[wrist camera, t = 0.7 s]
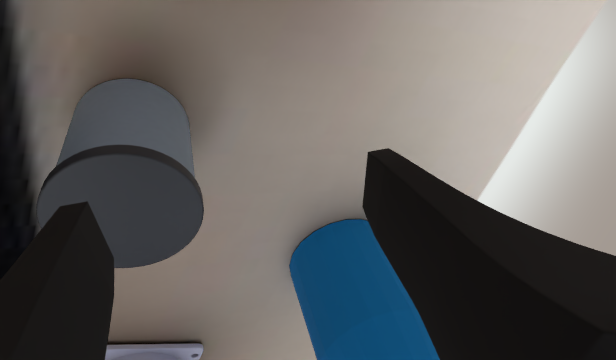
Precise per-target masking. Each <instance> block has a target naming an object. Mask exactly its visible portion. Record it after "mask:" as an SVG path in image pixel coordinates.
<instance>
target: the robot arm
mask: <svg viewBox="0 0 616 360" xmlns="http://www.w3.org/2000/svg"><path fill="white" fill-rule="evenodd" d="M363 209H364V212H365V214H366V217H367V219H368V222H369V224H370V227H371V229H372V231H373V234H374V236H375V238H376V240H377V242H378V243H379V245H380V247H381V249H382V250H383V252H384V254H385V255H386V257H387V259H388V261H389V262H390V264H391V266H392V267H393V269H394V271H395V273H396V274H397V276H398V278H399V279H400V281H401V283H402V284H403V286H404V288H405V289H406V291H407V293H408V295H409V296H410V298H411V300H412V301H413V303H414V305H415V307H416V309H417V311H418V313H419V315H420V317H421V319H422V321H423V323H424V325H425V328H426V330H427V332H428V334H429V336H430V339H431V341H432V343H433V345H434V347H435V350H436V352H437V354H438V357H439V359H440V360H616V256H614V255H611V254H607V253H604V252H601V251H597V250H594V249H591V248H588V247H585V246H582V245H579V244H576V243H573V242H571V241H568V240H565V239H563V238H560V237H557V236H554V235H552V234H549V233H546V232H544V231H541V230H539V229H536V228H534V227H531V226H529V225H527V224H524V223H522V222H520V221H518V220H516V219H513V218H511V217H509V216H506V215H504V214H502V213H500V212H498V211H496V210H494V209H492V208H490V207H488V206H486V205H484V204H482V203H480V202H478V201H477V200H475V199H473V198H471V197H469V196H467V195H465V194H464V193H462V192H460V191H458V190H457V189H455V188H453V187H451V186H450V185H448V184H446V183H445V182H443V181H441V180H440V179H438V178H436V177H435V176H433V175H432V174H430V173H428V172H427V171H425V170H423V169H422V168H420V167H419V166H417V165H415V164H414V163H412V162H411V161H409V160H407V159H406V158H404V157H403V156H401V155H399V154H398V153H396V152H394V151H392V150H391V149H389V148H388V149H382V150H376V151H371V152H368V157H367V167H366V177H365V187H364V197H363ZM113 299H114V257H113V255H112V252H111V250H110V248H109V246H108V244H107V242H106V240H105V237H104V235H103V233H102V231H101V229H100V227H99V225H98V223H97V220H96V218H95V216H94V214H93V212H92V210H91V208H90V205H89V203H88V201H86V202H81V203H75V204H69V205H64V206H60V207H59V208H58V209H57V210H56V212H55V213H54V214H53V215H52V217H51V218H50V219H49V220H48V222H47V223H46V224H45V226H44V227H43V228H42V229H41V231H40V232H39V233H38V234H37V236H36V237H35V238H34V240H33V241H32V242H31V243H30V245H29V246H28V247H27V248H26V250H25V251H24V252H23V253H22V255H21V256H20V257H19V258H18V260H17V261H16V262H15V263H14V264H13V266H12V267H11V268H10V269H9V271H8V272H7V273H6V274H5V275H4V277H3V278H2V279H1V280H0V360H199V359H200V357H201V355H202V352H203V345H202V344H198V343H193V344H126V345H107V342H108V335H109V328H110V321H111V314H112V307H113Z"/></svg>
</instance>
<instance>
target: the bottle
mask: <svg viewBox="0 0 616 360" xmlns="http://www.w3.org/2000/svg"><path fill="white" fill-rule="evenodd" d="M289 266H290V272H291V277H292V280H293V284H294V287H295V290H296V293H297V296H298V300H299V303H300V306H301V309H302V312H303V316H304V319H305V322H306V325H307V329H308V332H309V335H310V338H311V341H312V345H313V348H314V351H315V354H316V358H317V360H440V359H439V357H438V354H437V352H436V350H435V347H434V345H433V343H432V341H431V339H430V336H429V334H428V332H427V330H426V328H425V325H424V323H423V321H422V319H421V317H420V315H419V313H418V311H417V309H416V307H415V305H414V303H413V301H412V300H411V298H410V296H409V295H408V293H407V291H406V289H405V288H404V286H403V284H402V283H401V281H400V279H399V278H398V276H397V274H396V273H395V271H394V269H393V267H392V266H391V264H390V262H389V261H388V259H387V257H386V255H385V254H384V252H383V250H382V249H381V247H380V245H379V243H378V242H377V240H376V238H375V236H374V234H373V231H372V229H371V227H370V224H369V222H368V221H366V220H362V219H354V220H343V221H339V222H335V223H331V224H329V225H327V226H325V227H323V228H321V229H319V230H317V231H315V232H313V233H312V234H311V235H310V236H308V237H307V238H306V239H305V240H303V241H302V242H301V243H300V245H299V246H298V248H297V249H296V250H295V252H294V253H293V255H292V259H291V262H290V265H289Z"/></svg>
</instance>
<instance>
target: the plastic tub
mask: <svg viewBox="0 0 616 360" xmlns="http://www.w3.org/2000/svg"><path fill="white" fill-rule="evenodd" d="M86 201H88V203H89V205H90V208H91V210H92V212H93V214H94V216H95V218H96V220H97V223H98V225H99V227H100V229H101V231H102V233H103V235H104V237H105V240H106V242H107V244H108V246H109V248H110V250H111V252H112V255H113V257H114V268H132V267H139V266H145V265H149V264H153V263H156V262H159V261H162V260H164V259H167V258H169V257H171V256H172V255H174V254H176V253H178V252H179V251H180V250H182V249H183V248H184V247H185V246H187V245H188V244H189V243H190V242H191V241H192V239H193V238H194V237H195V235H196V234H197V232H198V230H199V228H200V226H201V224H202V220H203V214H204V207H203V198H202V193H201V189H200V187H199V185H198V183H197V181H196V179H195V175H194V165H193V156H192V146H191V137H190V128H189V121H188V117H187V115H186V112H185V110H184V109H183V107H182V105H181V104H180V103H179V101H178V100H177V99H176V98H175V97H174V96H173V95H171V94H170V93H169V92H167V91H166V90H164V89H163V88H161V87H159V86H157V85H155V84H153V83H149V82H146V81H142V80H137V79H116V80H111V81H107V82H104V83H101V84H99V85H97V86H95V87H93V88H92V89H90V90H89V91H88V92H87V93H85V95H84V96H83V97H82V98H81V99H80V101H79V102H78V104H77V106H76V108H75V111H74V114H73V117H72V120H71V123H70V126H69V129H68V132H67V135H66V138H65V141H64V144H63V147H62V150H61V153H60V156H59V159H58V162H57V165H56V167H55V168H54V169H53V170H52V171H51V172H50V173H49V175H48V176H47V178H46V179H45V181H44V183H43V186H42V188H41V191H40V194H39V197H38V201H37V218H38V222H39V224H40V227H41V229H42V228H43V227H44V226H45V224H46V223H47V222H48V220H49V219H50V218H51V217H52V215H53V214H54V213H55V212H56V210H57V209H58V208H59V207H60V206H64V205H69V204H75V203H81V202H86Z"/></svg>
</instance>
